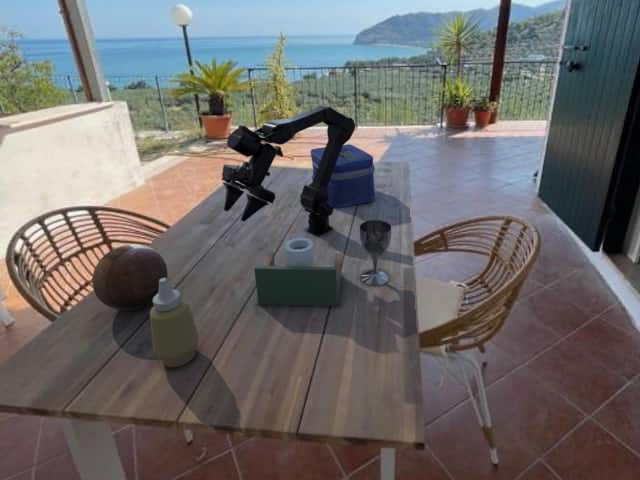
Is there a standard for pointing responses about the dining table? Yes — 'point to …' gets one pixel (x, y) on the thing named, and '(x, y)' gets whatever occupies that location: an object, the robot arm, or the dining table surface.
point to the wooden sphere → (128, 277)
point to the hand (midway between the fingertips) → (233, 215)
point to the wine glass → (375, 248)
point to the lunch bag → (348, 176)
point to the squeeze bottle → (172, 327)
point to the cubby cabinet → (297, 284)
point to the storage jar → (299, 253)
